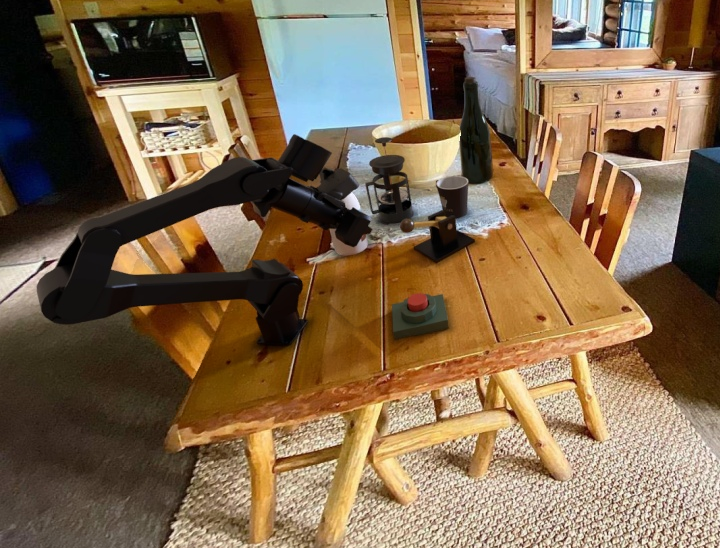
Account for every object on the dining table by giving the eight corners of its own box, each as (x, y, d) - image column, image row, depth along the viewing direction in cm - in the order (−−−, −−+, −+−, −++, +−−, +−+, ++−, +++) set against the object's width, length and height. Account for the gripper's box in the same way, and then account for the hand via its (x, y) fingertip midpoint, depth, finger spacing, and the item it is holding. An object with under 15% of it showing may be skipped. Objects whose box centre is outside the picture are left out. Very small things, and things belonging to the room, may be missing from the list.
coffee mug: (474, 218, 122) (471, 186, 118) (443, 224, 119) (439, 191, 115) (464, 200, 132) (462, 170, 127) (436, 205, 129) (432, 174, 125)
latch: (404, 235, 97) (406, 221, 96) (395, 230, 98) (397, 217, 98) (449, 230, 107) (452, 218, 106) (441, 226, 109) (443, 214, 108)
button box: (394, 340, 82) (391, 324, 80) (393, 312, 88) (390, 297, 87) (449, 328, 84) (446, 312, 83) (443, 302, 91) (441, 286, 89)
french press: (410, 205, 130) (398, 130, 119) (421, 218, 123) (409, 140, 112) (369, 215, 124) (353, 138, 113) (378, 230, 117) (361, 149, 106)
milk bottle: (357, 258, 105) (339, 183, 96) (328, 255, 107) (308, 180, 98) (374, 241, 112) (359, 169, 103) (347, 238, 113) (330, 166, 104)
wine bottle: (466, 186, 141) (457, 82, 126) (458, 174, 149) (448, 75, 134) (497, 180, 145) (492, 79, 130) (488, 169, 153) (481, 72, 138)
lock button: (409, 314, 83) (407, 307, 82) (408, 302, 86) (406, 295, 85) (428, 310, 84) (427, 302, 83) (426, 298, 87) (425, 291, 86)
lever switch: (436, 264, 103) (432, 232, 99) (414, 250, 108) (409, 219, 104) (475, 243, 111) (472, 212, 107) (452, 231, 116) (449, 201, 112)
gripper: (350, 175, 74) (414, 208, 87) (301, 150, 85) (364, 183, 98) (315, 234, 73) (385, 259, 85) (269, 200, 83) (337, 227, 96)
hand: (367, 229), depth 91 cm, fingers closed
